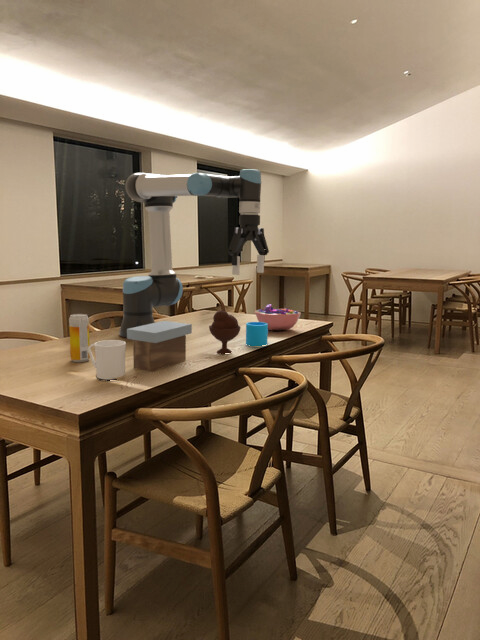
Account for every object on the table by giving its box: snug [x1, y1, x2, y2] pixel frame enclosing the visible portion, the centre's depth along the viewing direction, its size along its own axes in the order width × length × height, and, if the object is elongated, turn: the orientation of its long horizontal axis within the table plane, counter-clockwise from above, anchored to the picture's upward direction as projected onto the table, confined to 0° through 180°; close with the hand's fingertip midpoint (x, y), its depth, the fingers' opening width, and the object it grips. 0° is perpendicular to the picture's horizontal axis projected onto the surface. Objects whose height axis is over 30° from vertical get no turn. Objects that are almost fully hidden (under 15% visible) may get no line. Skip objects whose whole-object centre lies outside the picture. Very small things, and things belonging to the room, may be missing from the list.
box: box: [132, 335, 187, 372], centre depth 168 cm, size 7×17×10 cm, turn 149°
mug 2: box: [245, 321, 269, 347], centre depth 204 cm, size 12×8×8 cm
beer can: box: [68, 313, 91, 363], centre depth 174 cm, size 6×6×15 cm
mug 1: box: [88, 339, 127, 382], centre depth 155 cm, size 11×9×10 cm
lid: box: [126, 320, 193, 343], centre depth 167 cm, size 11×18×4 cm, turn 149°
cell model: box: [254, 303, 302, 331], centre depth 232 cm, size 17×20×11 cm
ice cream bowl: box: [208, 310, 241, 355], centre depth 188 cm, size 11×11×15 cm
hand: (248, 273), depth 195 cm, fingers open, 13 cm apart
